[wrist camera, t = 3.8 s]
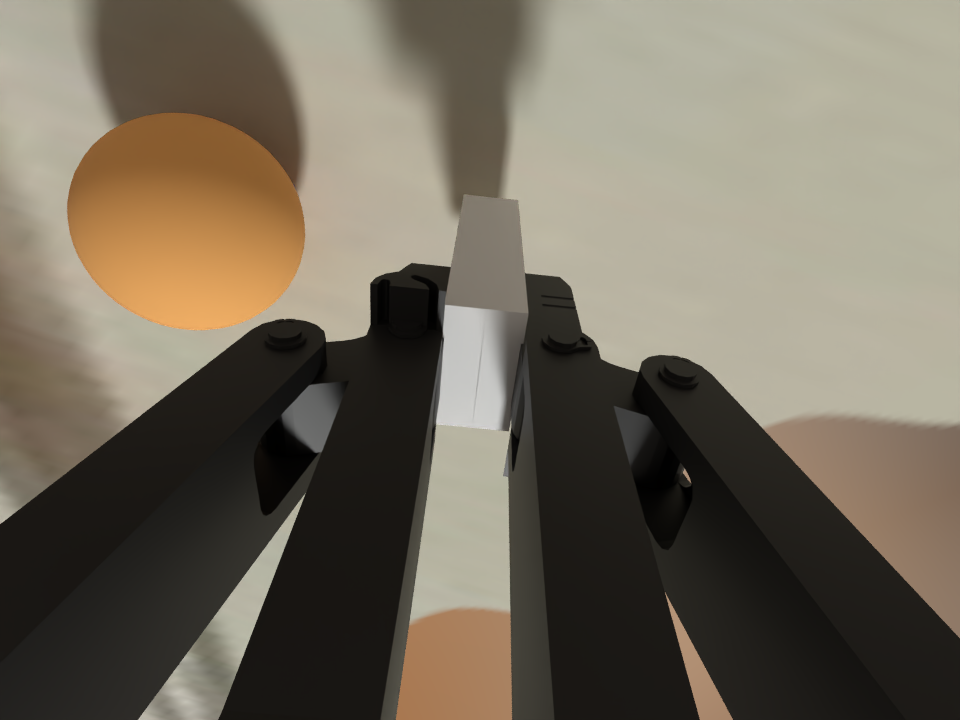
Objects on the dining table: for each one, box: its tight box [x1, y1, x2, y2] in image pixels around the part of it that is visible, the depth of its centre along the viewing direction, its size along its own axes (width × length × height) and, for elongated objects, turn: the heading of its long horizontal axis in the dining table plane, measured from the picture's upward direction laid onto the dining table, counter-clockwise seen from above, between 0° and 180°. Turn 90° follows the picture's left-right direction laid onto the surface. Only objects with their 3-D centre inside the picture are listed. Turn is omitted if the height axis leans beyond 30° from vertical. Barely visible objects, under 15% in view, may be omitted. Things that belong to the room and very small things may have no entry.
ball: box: [67, 113, 305, 330], centre depth 15 cm, size 6×6×6 cm
